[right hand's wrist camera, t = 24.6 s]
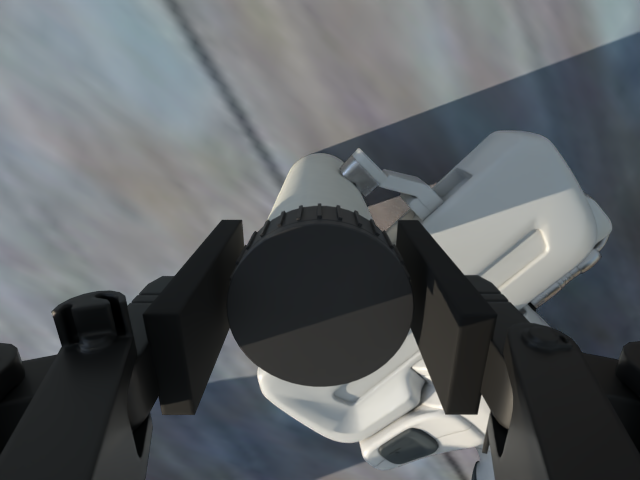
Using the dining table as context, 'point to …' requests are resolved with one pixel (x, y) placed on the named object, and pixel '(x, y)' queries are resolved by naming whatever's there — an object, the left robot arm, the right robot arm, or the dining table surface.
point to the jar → (318, 187)
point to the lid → (320, 297)
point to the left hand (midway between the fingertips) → (307, 202)
